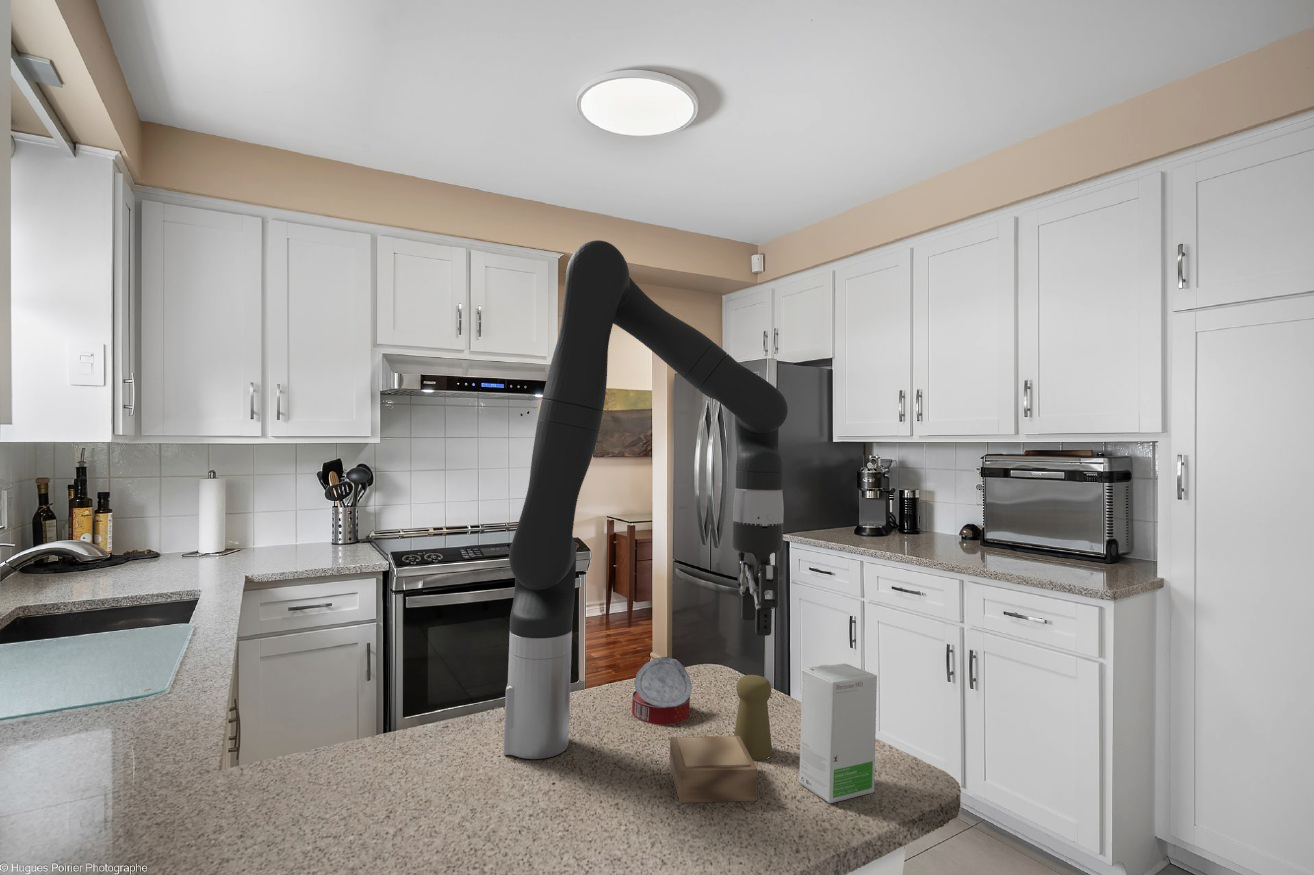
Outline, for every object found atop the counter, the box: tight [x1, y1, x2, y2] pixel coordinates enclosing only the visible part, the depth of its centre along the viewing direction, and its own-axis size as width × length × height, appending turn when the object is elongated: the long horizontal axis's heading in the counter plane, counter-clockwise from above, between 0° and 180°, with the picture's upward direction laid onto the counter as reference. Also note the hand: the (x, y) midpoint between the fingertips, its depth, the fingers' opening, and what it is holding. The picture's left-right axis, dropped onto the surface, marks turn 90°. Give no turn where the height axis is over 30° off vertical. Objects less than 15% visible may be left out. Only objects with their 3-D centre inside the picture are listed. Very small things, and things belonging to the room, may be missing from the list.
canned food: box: [631, 656, 693, 726], centre depth 114 cm, size 11×10×10 cm
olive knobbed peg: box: [733, 674, 773, 761], centre depth 100 cm, size 6×6×11 cm
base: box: [669, 735, 759, 804], centre depth 90 cm, size 10×10×4 cm
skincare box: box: [798, 663, 878, 804], centre depth 90 cm, size 8×7×16 cm
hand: (755, 627), depth 100 cm, fingers open, 8 cm apart
